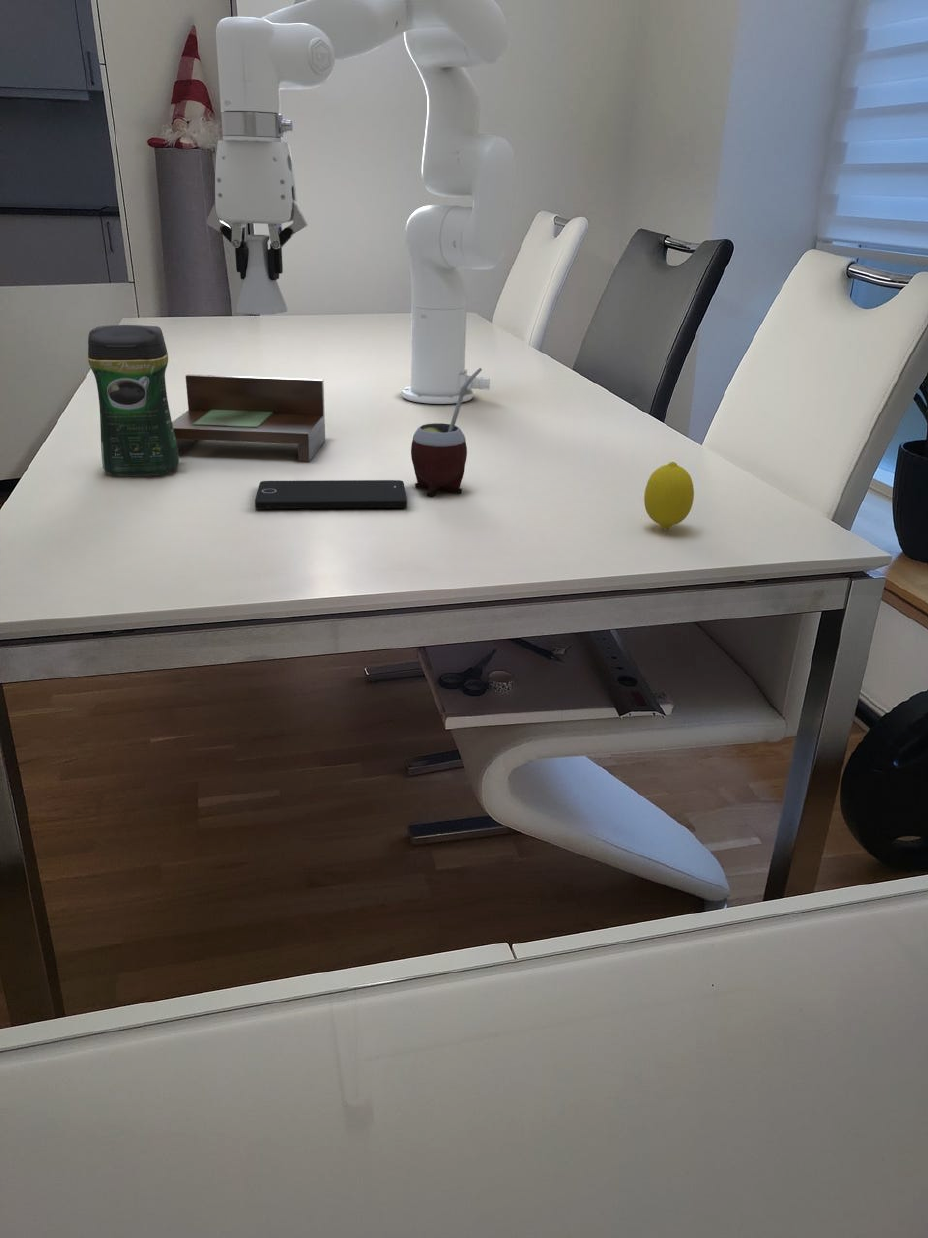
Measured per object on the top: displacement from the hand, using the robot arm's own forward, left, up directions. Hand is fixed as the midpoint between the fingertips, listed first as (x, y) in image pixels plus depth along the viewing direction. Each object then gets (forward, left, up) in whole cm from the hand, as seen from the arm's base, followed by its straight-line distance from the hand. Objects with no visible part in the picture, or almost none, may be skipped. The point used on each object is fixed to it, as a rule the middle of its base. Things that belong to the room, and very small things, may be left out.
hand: (260, 277), depth 137 cm
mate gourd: (-27, +19, -23) cm, 40 cm away
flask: (0, 0, -5) cm, 5 cm away
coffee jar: (+13, +16, -23) cm, 31 cm away
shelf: (+2, +3, -23) cm, 23 cm away
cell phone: (-14, +25, -23) cm, 36 cm away
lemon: (-54, +31, -23) cm, 66 cm away
